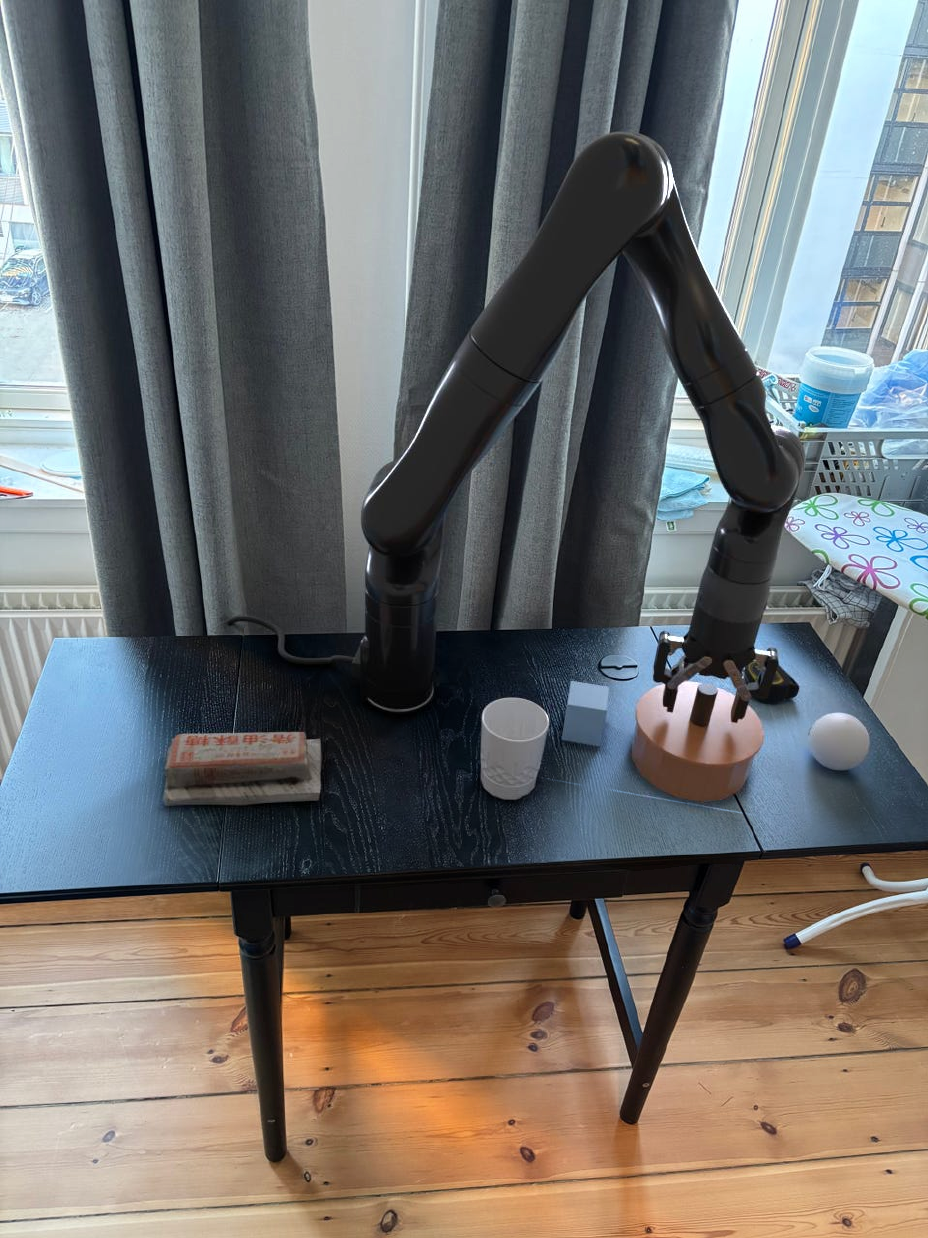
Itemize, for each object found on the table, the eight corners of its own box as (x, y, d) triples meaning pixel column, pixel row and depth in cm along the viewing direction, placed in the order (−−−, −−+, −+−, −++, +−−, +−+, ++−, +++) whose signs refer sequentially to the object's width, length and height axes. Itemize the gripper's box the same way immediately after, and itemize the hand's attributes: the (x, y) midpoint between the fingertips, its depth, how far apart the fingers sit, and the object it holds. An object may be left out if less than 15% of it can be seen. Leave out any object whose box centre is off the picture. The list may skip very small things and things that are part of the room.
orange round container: (628, 792, 117) (637, 753, 113) (633, 717, 129) (641, 679, 125) (749, 813, 115) (762, 774, 112) (743, 735, 127) (754, 697, 124)
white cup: (495, 812, 113) (502, 748, 107) (464, 769, 119) (470, 707, 113) (552, 792, 116) (561, 730, 111) (519, 752, 122) (527, 690, 116)
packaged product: (157, 778, 107) (169, 720, 116) (162, 809, 110) (174, 750, 118) (320, 772, 110) (320, 716, 118) (321, 803, 112) (321, 745, 121)
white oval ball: (870, 782, 121) (888, 739, 117) (814, 783, 121) (830, 739, 116) (839, 730, 129) (855, 687, 125) (786, 730, 129) (800, 687, 125)
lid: (631, 758, 113) (640, 719, 110) (636, 679, 126) (644, 641, 123) (766, 781, 112) (779, 742, 108) (757, 698, 124) (769, 661, 121)
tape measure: (797, 704, 133) (804, 683, 131) (754, 711, 132) (761, 690, 129) (770, 675, 139) (776, 654, 137) (729, 681, 137) (735, 660, 135)
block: (561, 743, 124) (567, 704, 120) (564, 718, 128) (570, 680, 124) (599, 749, 123) (607, 710, 120) (602, 724, 127) (609, 686, 124)
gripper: (792, 593, 110) (758, 704, 120) (667, 575, 112) (643, 685, 121) (798, 630, 104) (762, 743, 114) (666, 609, 106) (641, 723, 115)
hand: (701, 713), depth 118 cm, fingers open, 7 cm apart
